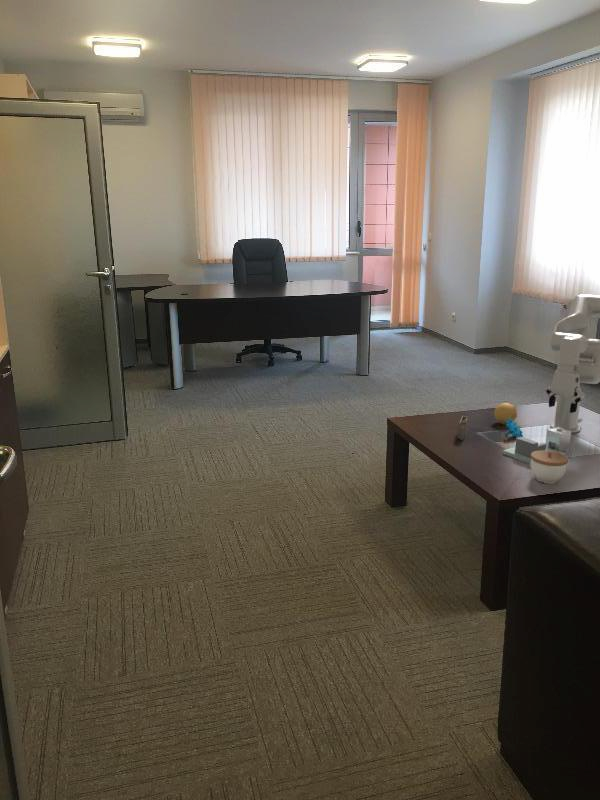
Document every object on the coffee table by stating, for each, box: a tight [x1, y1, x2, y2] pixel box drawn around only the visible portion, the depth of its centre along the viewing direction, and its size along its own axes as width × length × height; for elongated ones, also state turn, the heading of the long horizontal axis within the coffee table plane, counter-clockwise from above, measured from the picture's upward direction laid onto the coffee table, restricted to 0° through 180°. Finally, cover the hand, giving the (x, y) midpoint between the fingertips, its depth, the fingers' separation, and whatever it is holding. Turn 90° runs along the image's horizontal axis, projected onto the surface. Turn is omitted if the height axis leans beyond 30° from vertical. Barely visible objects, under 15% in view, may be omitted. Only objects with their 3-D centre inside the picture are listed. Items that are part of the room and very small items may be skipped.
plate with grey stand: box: [502, 436, 567, 465], centre depth 257 cm, size 18×16×8 cm
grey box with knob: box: [545, 427, 572, 453], centre depth 265 cm, size 7×6×8 cm
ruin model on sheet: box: [457, 415, 469, 441], centre depth 279 cm, size 11×3×10 cm, turn 159°
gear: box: [504, 419, 524, 439], centre depth 280 cm, size 11×6×10 cm
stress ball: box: [494, 402, 518, 426], centre depth 296 cm, size 10×10×10 cm
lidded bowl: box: [529, 450, 569, 484], centre depth 233 cm, size 13×13×11 cm
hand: (562, 409), depth 262 cm, fingers open, 9 cm apart
